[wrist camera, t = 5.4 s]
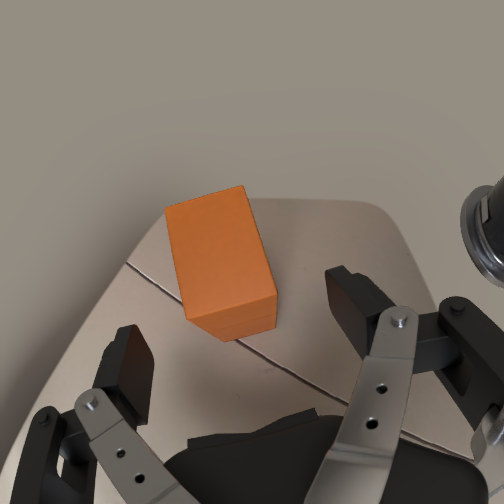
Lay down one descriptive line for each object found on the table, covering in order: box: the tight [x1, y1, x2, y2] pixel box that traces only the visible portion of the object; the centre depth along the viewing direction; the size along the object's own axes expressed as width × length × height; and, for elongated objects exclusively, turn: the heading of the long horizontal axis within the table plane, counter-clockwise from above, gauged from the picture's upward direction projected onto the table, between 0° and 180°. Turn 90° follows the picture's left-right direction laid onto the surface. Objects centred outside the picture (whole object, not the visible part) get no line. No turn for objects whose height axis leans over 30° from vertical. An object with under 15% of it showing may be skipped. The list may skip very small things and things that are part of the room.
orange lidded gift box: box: [165, 185, 278, 342], centre depth 19 cm, size 4×6×11 cm
